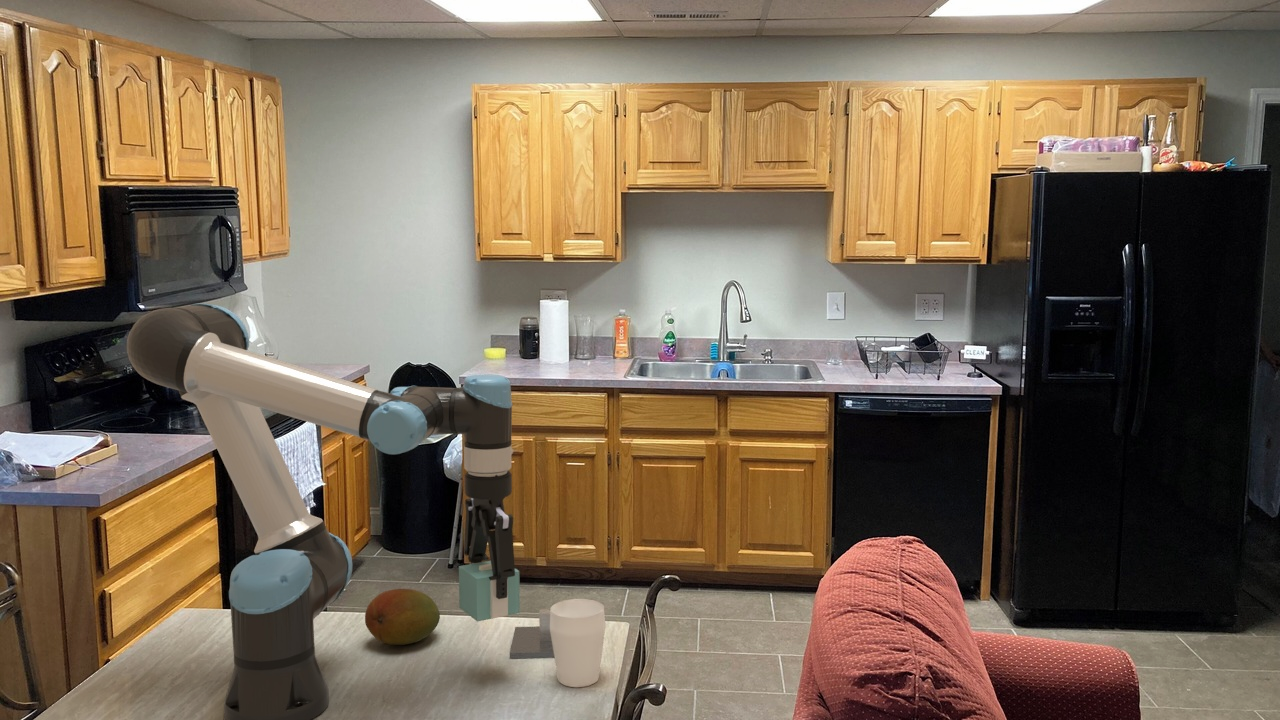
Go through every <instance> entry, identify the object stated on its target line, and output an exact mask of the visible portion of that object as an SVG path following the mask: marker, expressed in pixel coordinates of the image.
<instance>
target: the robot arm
mask: <svg viewBox="0 0 1280 720" xmlns="http://www.w3.org/2000/svg"><path fill="white" fill-rule="evenodd" d="M249 337H250V336H249V332H248V330H247V327H246V326H245V323H244V322H243V321H242V320H241V318H239V316H238V315H236V313H234V312H232V310H230V309H228V308H226V307H223V306H220V305H217V304H210V303H209V304H208V303H193V304H191V305H184V306H176V307H167V308H159V309H154V310H152V311H150V312H148V313H146V314H144V315H143V316H142V317H140V318H139V319H138V320H137V321H136V322H135V323H134V324H133V325H132V328H131V329H130V331H129V334H128V336H127V340H126V353H127V356H128V360H129V361H130V364H131V366H132V367H133V368H134V370H135V372H137V373H138V374H139V375H140V376H141V377H143V378H144V379H146V380H147V381H150V382H151V383H153V384H156V385H159V386H162V387H165V388H168V389H171V390H175V391H176V390H177V391H178V393H179V395H180V398H181V399H182V400H184V401H187V402H190V403H193V404H194V405H195V406H196V407H197V410H198V412H199V413H200V415H201V418H202V420H203V423H204V425H205V427H206V428H207V431H208V433H209V434H210V437H211V438H212V439H211V440H212V442H213V444H214V445H215V448H216V449H217V451H218V454H219V456H220V458H221V460H222V463H223V464H224V467H225V469H226V471H227V473H228V476H229V478H230V480H231V481H232V484H233V485H234V488H235V491H236V492H237V495H238V496H239V498H240V500H241V501H240V502H241V503H242V504H243V505H242V506H243V507H244V509H245V511H246V513H247V516H248V518H249V520H250V522H251V524H252V526H253V528H254V530H255V533H256V534H257V539H258V540H257V542H256V545H255V547H254V550H253V552H254V554H252V555H250V556H248V557H246V558H244V559H243V560H241V561H239V563H238V564H236V565H235V567H234V568H233V569H232V571H231V574H230V579H229V590H228V599H229V604H230V615H231V616H230V617H231V618H230V621H231V633H232V634H231V636H232V650H233V651H232V652H233V670H232V673H231V677H230V679H229V684H228V687H227V692H226V694H225V698H224V702H223V709H224V711H223V713H224V714H223V715H224V720H312V719H314V718H316V717H318V716H319V715H321V714H322V713H323V712H324V711H325V710H326V709H327V707H328V706H329V703H330V693H329V685H328V682H327V681H326V677H325V676H324V673H323V670H322V668H321V666H320V663H319V662H318V659H317V656H316V650H315V649H316V648H315V629H314V627H315V626H314V621H315V618H317V617H318V616H319V615H320V614H321V613H322V612H323V611H324V610H325V609H327V607H328V606H330V605H331V604H334V602H335V601H336V600H338V599H339V597H340V596H341V595H342V593H343V592H344V591H345V590H346V587H347V586H348V585H349V583H350V581H351V578H352V573H353V558H352V554H351V551H350V549H349V548H348V546H347V544H346V542H344V540H342V539H341V538H340V537H339V536H338V535H334V534H333V533H331V532H329V530H328V528H327V526H326V524H325V521H324V520H323V519H322V518H320V517H317V516H315V515H312V514H311V513H309V510H308V508H307V506H306V504H305V501H304V499H303V497H302V495H301V493H300V491H299V489H298V487H297V485H296V482H295V480H294V478H293V476H292V474H291V473H290V469H289V468H288V466H287V464H286V461H285V459H284V457H283V455H282V452H281V450H280V448H279V446H278V445H277V442H276V440H275V437H274V436H273V433H272V432H271V429H270V427H269V424H268V423H267V421H266V419H265V415H263V412H262V410H261V409H264V410H266V411H270V412H274V413H277V414H280V415H283V416H288V417H290V418H294V419H296V420H300V421H304V422H307V423H311V424H313V425H316V426H317V425H318V426H320V427H324V428H327V429H330V430H333V431H334V430H335V431H337V432H339V433H344V434H348V435H350V436H354V437H357V438H359V439H364V440H366V441H370V443H371V444H372V445H373V446H374V448H376V449H377V450H378V451H379V452H381V453H384V454H387V455H400V454H402V453H407V452H409V451H411V450H413V449H415V448H416V447H418V446H419V445H420V444H421V443H422V442H423V441H425V440H426V439H428V438H430V437H431V436H432V435H463V437H464V445H463V456H464V457H463V458H464V459H463V463H464V464H463V469H464V470H465V471H466V473H465V474H464V493H465V496H466V497H468V498H466V499H465V500H464V505H465V507H464V508H465V527H464V529H465V530H464V541H463V542H464V543H463V544H464V545H463V547H464V548H463V555H464V556H466V557H467V556H468V557H467V559H468V562H469V563H470V564H474V563H480V562H486V561H487V560H488V561H489V558H490V561H491V566H492V572H493V576H490V577H489V579H490V617H491V618H492V619H497V618H502V617H507V616H509V615H508V577H512V576H515V569H516V568H515V553H514V550H515V549H514V537H513V525H514V516H513V514H511V513H510V514H506V511H505V506H504V499H505V498H507V497H510V495H512V492H513V491H512V490H513V488H512V487H513V479H512V477H513V475H512V474H513V473H512V472H511V471H510V470H511V469H512V455H513V453H514V449H513V448H512V444H513V443H512V434H513V433H512V431H513V430H512V428H513V427H512V421H513V418H512V417H513V416H512V415H513V414H512V413H513V402H512V390H511V389H512V386H511V381H510V379H509V378H508V377H506V376H505V375H500V374H472V375H468V376H466V377H465V378H464V381H463V385H462V386H460V387H455V388H454V387H437V386H436V387H435V386H432V387H431V386H418V385H411V386H397V387H394V388H393V389H392V390H391V391H390V393H389V392H385V391H381V390H378V389H376V388H373V387H369V386H366V385H363V384H361V383H360V384H359V383H356V382H354V381H351V380H346V379H343V378H340V377H336V376H333V375H330V374H327V373H323V372H320V371H316V370H313V369H310V368H306V367H303V366H300V365H296V364H293V363H290V362H287V361H283V360H280V359H277V358H273V357H269V356H266V355H264V354H263V355H262V354H260V353H257V352H253V351H249V347H250V338H249ZM487 546H488V552H489V557H488V555H487V553H486V552H487ZM492 619H491V620H492Z"/></svg>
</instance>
